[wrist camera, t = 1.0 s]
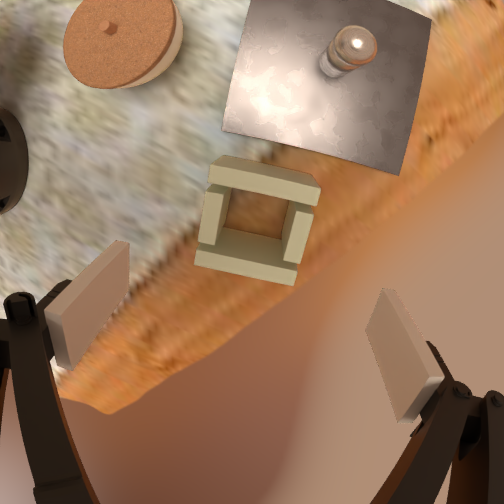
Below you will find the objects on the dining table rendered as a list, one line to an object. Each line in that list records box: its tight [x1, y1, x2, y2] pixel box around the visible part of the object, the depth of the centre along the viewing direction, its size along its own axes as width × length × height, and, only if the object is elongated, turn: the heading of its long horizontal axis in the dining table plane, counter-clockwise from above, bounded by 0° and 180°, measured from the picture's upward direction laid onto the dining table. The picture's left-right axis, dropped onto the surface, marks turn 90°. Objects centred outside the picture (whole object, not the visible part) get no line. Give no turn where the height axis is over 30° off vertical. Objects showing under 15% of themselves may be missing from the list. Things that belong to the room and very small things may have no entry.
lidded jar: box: [63, 0, 183, 89], centre depth 23 cm, size 11×11×9 cm
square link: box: [194, 155, 321, 286], centre depth 30 cm, size 9×9×7 cm
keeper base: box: [221, 0, 432, 176], centre depth 22 cm, size 18×18×11 cm
